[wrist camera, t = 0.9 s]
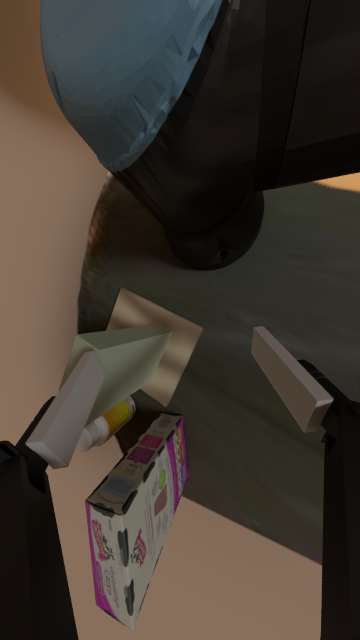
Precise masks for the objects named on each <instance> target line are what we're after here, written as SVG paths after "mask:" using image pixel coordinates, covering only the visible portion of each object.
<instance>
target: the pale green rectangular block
mask: <svg viewBox="0 0 360 640" xmlns="http://www.w3.org/2000/svg"><path fill="white" fill-rule="evenodd" d="M171 334H172V331H170V330H168V329H166V328H164V327H162V326H160V325H150V326H142V327H134V328H126V329H118V330H109V331H101V332H93V333H85V334H77V335H76V338H75V341H74V344H73V347H72V351H71V354H70V357H69V360H68V363H67V366H66V369H65V373H64V376H63V379H62V382H61V385H60V389H59V391H60V390H61V388H62V387H63V385H64V383H65V382H66V380H67V379H68V377H69V376H70V374H71V373H72V371H73V370H74V368H75V367H76V365H77V364H78V362H79V361H80V359H81V357H82V356H83V354H84V353H85V352H91V351H94V352H95V354H96V356H97V358H98V360H99V362H100V364H101V366H102V368H103V370H104V372H105V374H106V375H105V378H104V380H103V383H102V385H101V388H100V390H99V392H98V395H97V397H96V400H95V402H94V405H93V407H92V409H91V412H90V414H89V417H88V419H87V422H86V424H85V426H84V427H86V426H87V425H89V424H90V423H92V422H93V421H94V420H96V419H97V418H99V417H100V416H101V415H103V414H104V413H106V412H107V411H108V410H110V409H111V408H113V407H114V406H116V405H117V404H118V403H120V402H121V401H123V400H124V399H125V398H127V397H128V396H130V395H131V394H133V393H134V392H135V391H137V390H138V389H140V388H141V387H142V386H144V385H145V384H147V383H148V382H150V381H151V380H152V379H153V376H154V374H155V372H156V369H157V367H158V365H159V362H160V360H161V358H162V355H163V353H164V351H165V348H166V346H167V344H168V341H169V339H170V337H171ZM58 393H59V392H58Z"/></svg>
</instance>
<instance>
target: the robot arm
mask: <svg viewBox="0 0 360 640" xmlns="http://www.w3.org/2000/svg"><path fill="white" fill-rule="evenodd" d="M40 11H41V12H40V32H41V33H40V35H41V48H42V55H43V60H44V66H45V71H46V74H47V78H48V82H49V85H50V88H51V90H52V93H53V95H54V98H55V100H56V102H57V104H58V106H59V108H60V109H61V111H62V112H63V114H64V116H65V117H66V119H67V120H68V121H69V123H70V124H71V125H72V126H73V128H74V129H75V130H76V131H77V132H78V133H79V135H80V136H81V137H82V138H83V140H85V142H86V143H87V144H88V145H89V147H90V148H91V149H92V150H93V151H94V153H95V154H96V155H97V158H98V160H99V161H100V163H101V164H102V165H103V166H104V167H105V168H106V169H107V170H108V171H110V172H111V173H112V174H113V175H114V176H115V177H116V179H117V180H118V181H119V182H120V183H121V184H122V185H123V186H124V187H125V188H126V189H127V190H128V191H129V192H130V193H131V194H132V195H133V196H134V197H135V198H136V199H137V200H138V201H139V202H140V203H141V204H142V205H143V206H144V207H145V208H146V209H147V210H148V211H149V212H150V213H151V214H152V215H153V216H154V217H155V218H156V219H157V220H158V221H159V222H160V223H161V224H162V226H163V229H164V234H165V238H166V241H167V243H168V246H169V247H170V249H171V251H172V252H173V253H174V255H175V256H176V257H177V258H179V259H180V260H181V261H182V262H183V263H185V264H186V265H188V266H190V267H192V268H195V269H199V270H215V269H219V268H223V267H225V266H228V265H230V264H232V263H233V262H235V261H236V260H238V259H239V258H240V257H242V256H243V255H244V254H245V253H246V252H247V251H248V250H249V248H250V247H251V246H252V244H253V243H254V241H255V239H256V238H257V236H258V233H259V231H260V228H261V224H262V219H263V213H264V197H263V191H264V190H269V189H276V188H281V187H286V186H291V185H297V184H302V183H307V182H312V181H317V180H322V179H328V178H333V177H338V176H343V175H348V174H353V173H359V172H360V0H41V9H40ZM251 354H252V355H253V357H254V358H255V360H256V361H257V363H258V364H259V366H260V367H261V369H262V370H263V372H264V373H265V375H266V376H267V378H268V379H269V381H270V382H271V384H272V385H273V387H274V388H275V390H276V391H277V393H278V394H279V396H280V397H281V399H282V400H283V402H284V404H285V405H286V407H287V408H288V410H289V411H290V413H291V414H292V416H293V417H294V419H295V420H296V422H297V423H298V425H299V426H300V428H301V429H302V431H303V432H304V433H307V432H314V431H318V430H319V428H320V426H321V425H322V426H323V428H324V429H325V430H326V433H325V434H324V436H323V438H322V441H321V443H324V442H325V459H324V509H323V559H322V609H321V610H322V611H321V638H320V640H360V403H358V402H355V401H351V400H349V399H348V398H347V397H346V396H345V395H344V394H343V393H342V392H341V391H340V390H339V389H338V388H337V387H335V386H334V385H333V384H332V383H331V382H330V381H329V380H328V379H327V378H325V376H324V375H323V374H322V373H321V372H319V370H318V369H316V368H315V367H314V366H313V365H312V364H310V363H309V362H307V361H305V360H296V359H295V358H294V357H293V356H292V355H291V354H290V353H289V352H288V351H287V350H286V349H285V348H284V347H283V346H282V345H281V344H280V343H279V342H278V341H277V340H276V339H275V338H274V337H273V336H272V335H271V334H270V333H269V332H268V331H267V330H266V328H265V327H264V326H260V327H254V331H253V341H252V351H251ZM105 375H106V374H105V372H104V370H103V368H102V366H101V364H100V362H99V360H98V358H97V356H96V354H95V352H94V351H91V352H85V353H84V354H83V356H82V357H81V359H80V361H79V362H78V364H77V365H76V367H75V368H74V370H73V371H72V373H71V374H70V376H69V377H68V379H67V380H66V382H65V383H64V385H63V387H62V388H61V390H60V391H59V393H58V394H57V396H53V397H51V398H50V399H49V400H48V401H47V402H46V403H45V404H44V405H43V407H42V408H41V409H40V411H39V412H38V414H37V415H36V417H35V418H34V421H32V422H31V424H30V425H29V427H28V429H27V430H26V431H25V433H24V434H23V436H22V437H21V438H20V440H19V441H18V443H17V444H16V446H14V445H13V444H11V443H10V442H9V441H1V442H0V640H78V634H77V629H76V624H75V619H74V614H73V608H72V603H71V597H70V592H69V587H68V581H67V576H66V571H65V565H64V560H63V556H62V549H61V544H60V539H59V534H58V528H57V523H56V518H55V512H54V507H53V502H52V497H51V491H50V486H49V480H48V475H47V473H46V472H45V470H46V468H47V466H48V464H49V465H50V466H51V467H52V468H53V469H58V468H65V467H68V465H69V463H70V460H71V458H72V455H73V453H74V451H75V448H76V446H77V443H78V441H79V438H80V436H81V434H82V431H83V429H84V426H85V424H86V422H87V419H88V417H89V414H90V412H91V409H92V407H93V405H94V402H95V400H96V397H97V395H98V392H99V390H100V388H101V385H102V383H103V380H104V378H105Z"/></svg>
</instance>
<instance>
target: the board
mask: <svg viewBox="0 0 360 640" xmlns="http://www.w3.org/2000/svg"><path fill="white" fill-rule="evenodd" d="M150 325H160V326H162V327H164V328H166V329H168V330H170V331H172V334H171V337H170V339H169V341H168V344H167V346H166V348H165V351H164V353H163V355H162V358H161V360H160V362H159V365H158V367H157V369H156V372H155V374H154V376H153V379H152V380H151V381H150V382H148V383H147V384H145V385H144V386H142V387H141V388H140V389H141V390H143V391H144V392H146V393H147V394H148V395H150V396H151V397H153V398H154V399H155V400H157V401H158V402H160V403H161V404H162V405H164V406H165V407H166V406H167V405H168V404H169V401H170V399H171V397H172V395H173V393H174V391H175V388H176V386H177V384H178V382H179V380H180V378H181V375H182V373H183V371H184V369H185V367H186V365H187V363H188V360H189V358H190V356H191V354H192V352H193V350H194V347H195V345H196V343H197V341H198V339H199V337H200V334H201V332H202V330H203V328H204V327H202V326H200V325H197V324H195V323H193V322H191V321H189V320H187V319H185V318H183V317H181V316H179V315H177V314H175V313H173V312H171V311H169V310H167V309H165V308H163V307H161V306H159V305H157V304H155V303H153V302H151V301H149V300H147V299H145V298H143V297H141V296H139V295H137V294H135V293H133V292H131V291H129V290H127V289H125V288H121V289H120V292H119V295H118V298H117V301H116V304H115V307H114V309H113V312H112V315H111V318H110V321H109V324H108V327H107V330H106V331H109V330H118V329H126V328H134V327H142V326H150Z"/></svg>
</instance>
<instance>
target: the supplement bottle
mask: <svg viewBox="0 0 360 640" xmlns="http://www.w3.org/2000/svg"><path fill="white" fill-rule="evenodd" d="M134 414H135V403H134V401H133V399H132V398H131V397H130V396H128V397H127V398H125V399H124V400H123V401H121V402H120V403H118V404H117V405H116V406H114V407H113V408H111V409H110V410H108V411H107V412H106V413H104V414H103V415H101V416H100V417H99V418H97V419H96V420H94V421H93V422H92V423H90V424H89V425H87V426H86V427H84V429H83V431H82V434H81V436H80V438H79V441H78V443H77V446H76V447H77V448H78V449H79V450H80V451H83V452H85V451H88V450H89V449H91V448H92V447H93V446H101V445H102V444H104V443H105V442H106V441H107V440H109V439H110V438H111V437H112V436H113V435H114V434H115V433H116V432H117V431H118V430H119V429H121V428H122V427H123V426H124V425H125V424H126V423H127V422H128V421H129V420H130V419H131V418H132V417H133V416H134Z"/></svg>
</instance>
